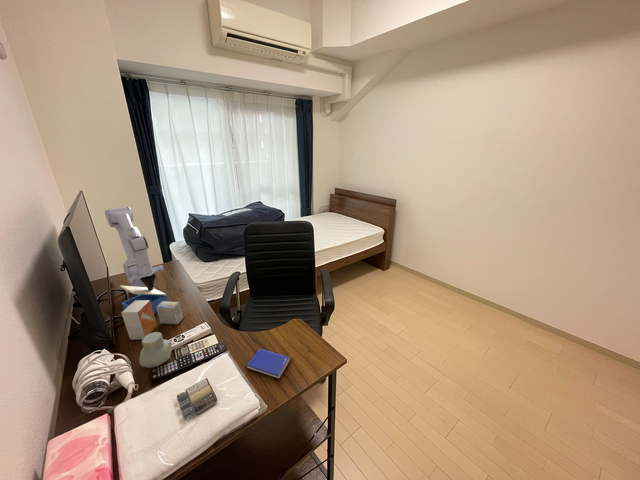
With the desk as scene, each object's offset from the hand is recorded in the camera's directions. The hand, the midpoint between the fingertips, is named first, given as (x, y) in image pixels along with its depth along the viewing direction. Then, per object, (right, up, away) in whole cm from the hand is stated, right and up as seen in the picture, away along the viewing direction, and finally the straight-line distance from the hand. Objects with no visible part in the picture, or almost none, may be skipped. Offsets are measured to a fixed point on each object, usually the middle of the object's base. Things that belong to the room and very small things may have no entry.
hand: (150, 289), depth 117 cm
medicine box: (+14, -13, -7) cm, 20 cm away
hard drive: (+61, -21, -29) cm, 71 cm away
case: (-2, -9, 0) cm, 10 cm away
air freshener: (+21, -20, -27) cm, 39 cm away
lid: (-2, 0, -3) cm, 3 cm away
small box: (+7, -15, -14) cm, 22 cm away
